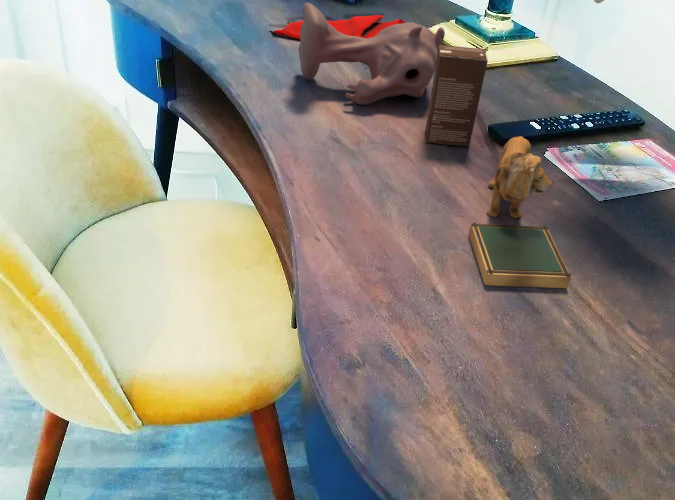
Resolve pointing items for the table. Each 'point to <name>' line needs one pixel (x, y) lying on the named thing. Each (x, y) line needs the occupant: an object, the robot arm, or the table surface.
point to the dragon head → (372, 56)
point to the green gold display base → (518, 256)
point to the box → (455, 94)
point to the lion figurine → (517, 176)
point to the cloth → (346, 27)
